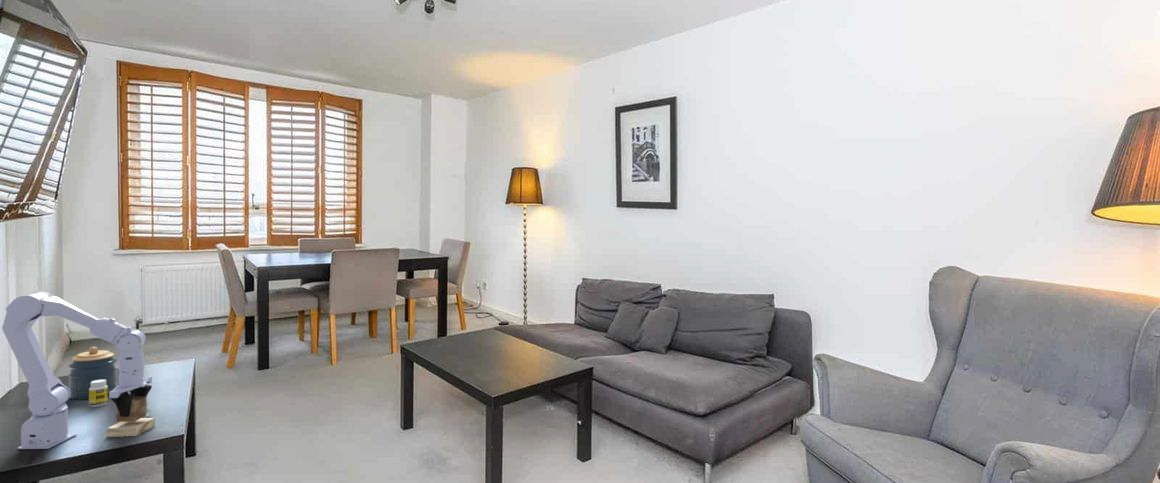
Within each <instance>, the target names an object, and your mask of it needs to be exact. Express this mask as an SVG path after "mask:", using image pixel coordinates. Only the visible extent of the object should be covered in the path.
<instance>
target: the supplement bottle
mask: <svg viewBox="0 0 1160 483" xmlns="http://www.w3.org/2000/svg"><path fill="white" fill-rule="evenodd" d="M107 393H108V387H107V385H106V380H95V381H92V382H91V387H90V388H89V399H88V406H89V407H91V408H96V407H102V406H104V405H107V404H108V395H107Z"/></svg>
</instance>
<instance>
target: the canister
mask: <svg viewBox="0 0 1160 483" xmlns="http://www.w3.org/2000/svg"><path fill="white" fill-rule="evenodd" d="M114 355H115V353H114V352H111V351H109V350H99V348H98V347H96V346H91V347H89V349H88V351H84V352H79V353H78V354H76V355H75V356H73V357H72V358H71V360H72V361H73V362H71V363H69V364H68V367H69V368H70V373H69V374H68V378H69V382H68V383H69V384H68V385H69V387H68V388H69V390H70V392H71V395H70V398H69V399H72V400H89V388H90V387H91V382H92V381H95V380H106V385H107V387H108V393H107V396H109V392H110V391H112V390H113V389H115V388H116V387H117V386H118V382H117V374H118V373H117V370H118V368H117V367H116V362H118V359H117V358H115V357H114Z"/></svg>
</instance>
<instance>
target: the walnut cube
mask: <svg viewBox="0 0 1160 483" xmlns="http://www.w3.org/2000/svg"><path fill="white" fill-rule="evenodd" d="M146 402H147V397H134V398H133V400H132V403H131V409H130V414H129V416H128V417H121V416H120V413H119V411H118V408H117V407H116V422H117V423H119V422H135V421H136V420H138V419H140V418H142V417H144V416H146V414H147V413H146V409H147V407H146Z"/></svg>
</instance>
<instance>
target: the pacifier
mask: <svg viewBox="0 0 1160 483" xmlns="http://www.w3.org/2000/svg"><path fill="white" fill-rule="evenodd" d="M147 407H148V402H147V401H146V416H144V417H142V418H150V416H151V415H152V410H151V409H149V408H147Z"/></svg>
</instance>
